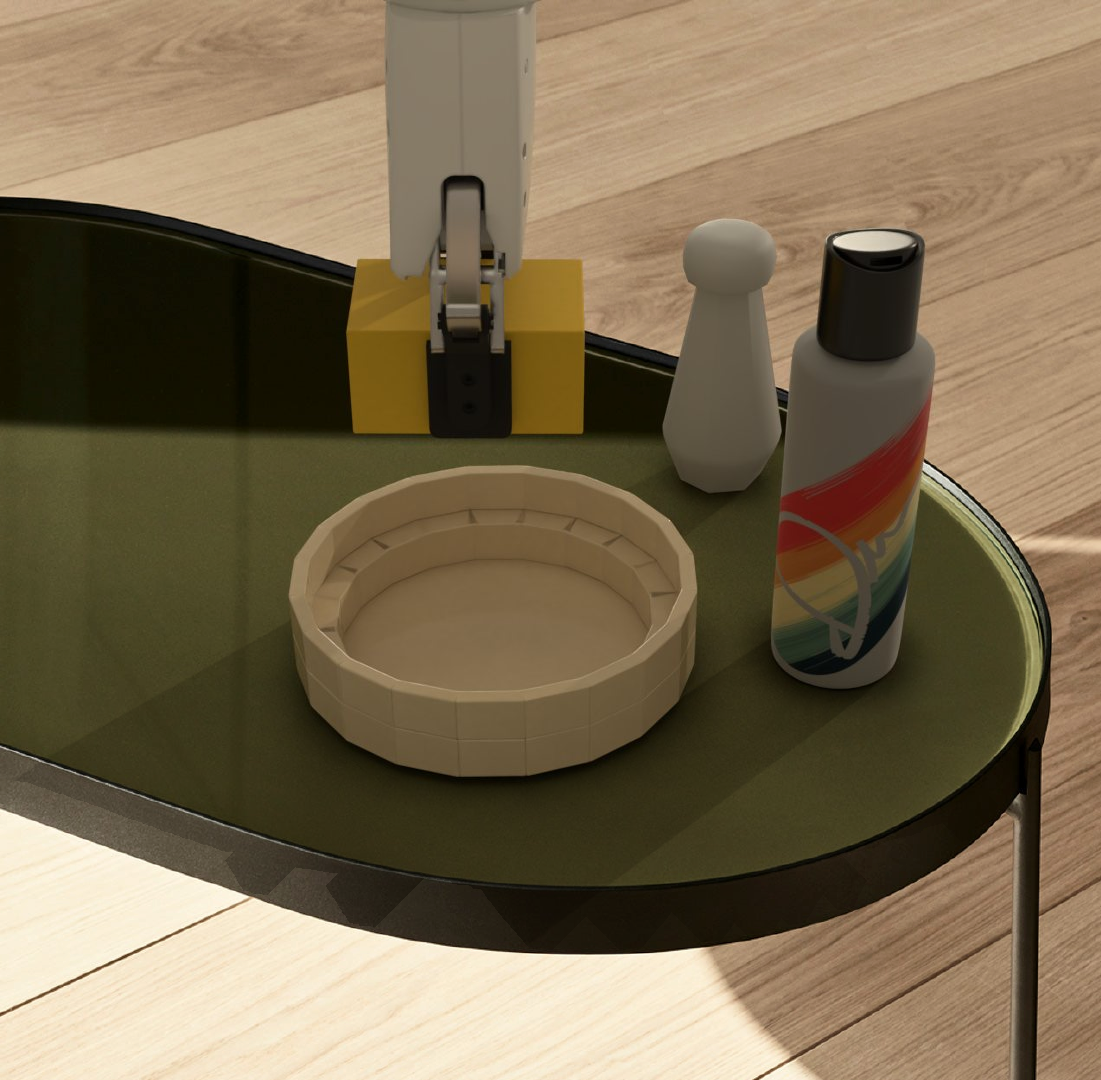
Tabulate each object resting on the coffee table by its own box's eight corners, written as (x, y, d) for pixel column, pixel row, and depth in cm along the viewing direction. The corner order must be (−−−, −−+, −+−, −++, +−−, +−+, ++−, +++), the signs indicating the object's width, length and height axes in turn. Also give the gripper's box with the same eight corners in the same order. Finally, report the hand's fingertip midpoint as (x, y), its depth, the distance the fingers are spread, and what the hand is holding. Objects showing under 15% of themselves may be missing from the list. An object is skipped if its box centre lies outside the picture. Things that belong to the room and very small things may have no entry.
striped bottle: (787, 698, 86) (822, 274, 73) (756, 621, 90) (784, 208, 78) (914, 684, 87) (971, 262, 74) (877, 608, 91) (925, 196, 78)
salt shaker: (748, 431, 103) (762, 195, 95) (797, 488, 99) (816, 246, 90) (643, 454, 101) (648, 215, 93) (688, 512, 97) (698, 268, 89)
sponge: (353, 434, 78) (346, 331, 75) (363, 357, 83) (357, 257, 80) (583, 434, 78) (584, 332, 75) (580, 358, 83) (582, 258, 80)
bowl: (281, 789, 82) (270, 704, 79) (316, 547, 95) (308, 467, 92) (705, 783, 82) (709, 698, 79) (680, 543, 95) (683, 462, 92)
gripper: (370, -146, 75) (392, 288, 87) (333, 25, 62) (365, 510, 74) (569, -145, 75) (564, 289, 87) (574, 25, 62) (568, 510, 74)
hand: (473, 386), depth 80 cm, fingers closed on sponge, 6 cm apart
